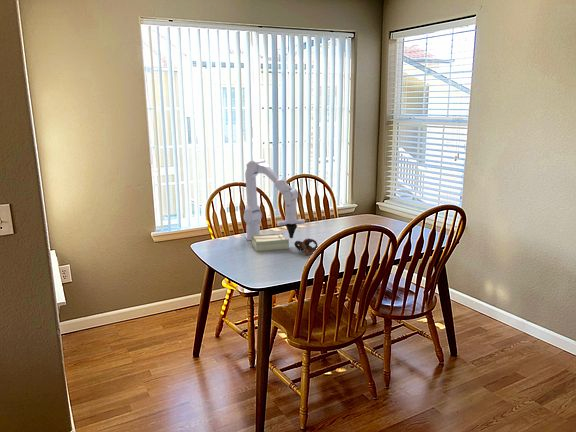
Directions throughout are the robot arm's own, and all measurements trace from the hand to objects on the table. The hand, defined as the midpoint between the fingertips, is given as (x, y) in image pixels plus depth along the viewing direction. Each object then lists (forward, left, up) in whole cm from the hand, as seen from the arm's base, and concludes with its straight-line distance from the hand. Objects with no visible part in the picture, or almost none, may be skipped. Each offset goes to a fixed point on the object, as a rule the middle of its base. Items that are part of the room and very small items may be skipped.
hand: (291, 237), depth 257 cm
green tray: (0, -11, -4) cm, 12 cm away
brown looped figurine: (+15, +4, -4) cm, 16 cm away
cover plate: (0, -11, -1) cm, 12 cm away
